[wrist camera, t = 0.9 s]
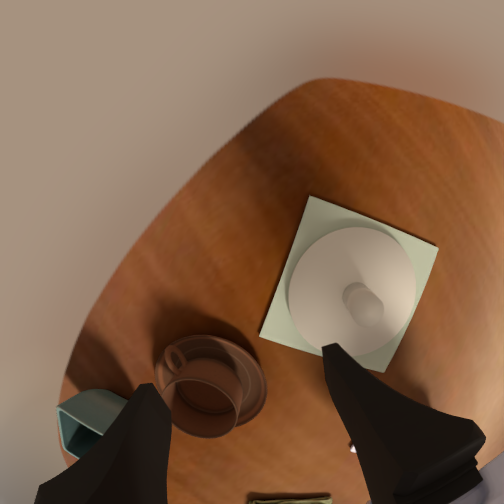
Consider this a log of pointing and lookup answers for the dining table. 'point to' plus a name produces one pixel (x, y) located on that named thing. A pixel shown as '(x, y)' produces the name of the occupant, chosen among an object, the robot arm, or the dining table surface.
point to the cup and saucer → (209, 385)
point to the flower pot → (87, 419)
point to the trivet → (310, 229)
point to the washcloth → (296, 501)
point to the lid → (352, 290)
